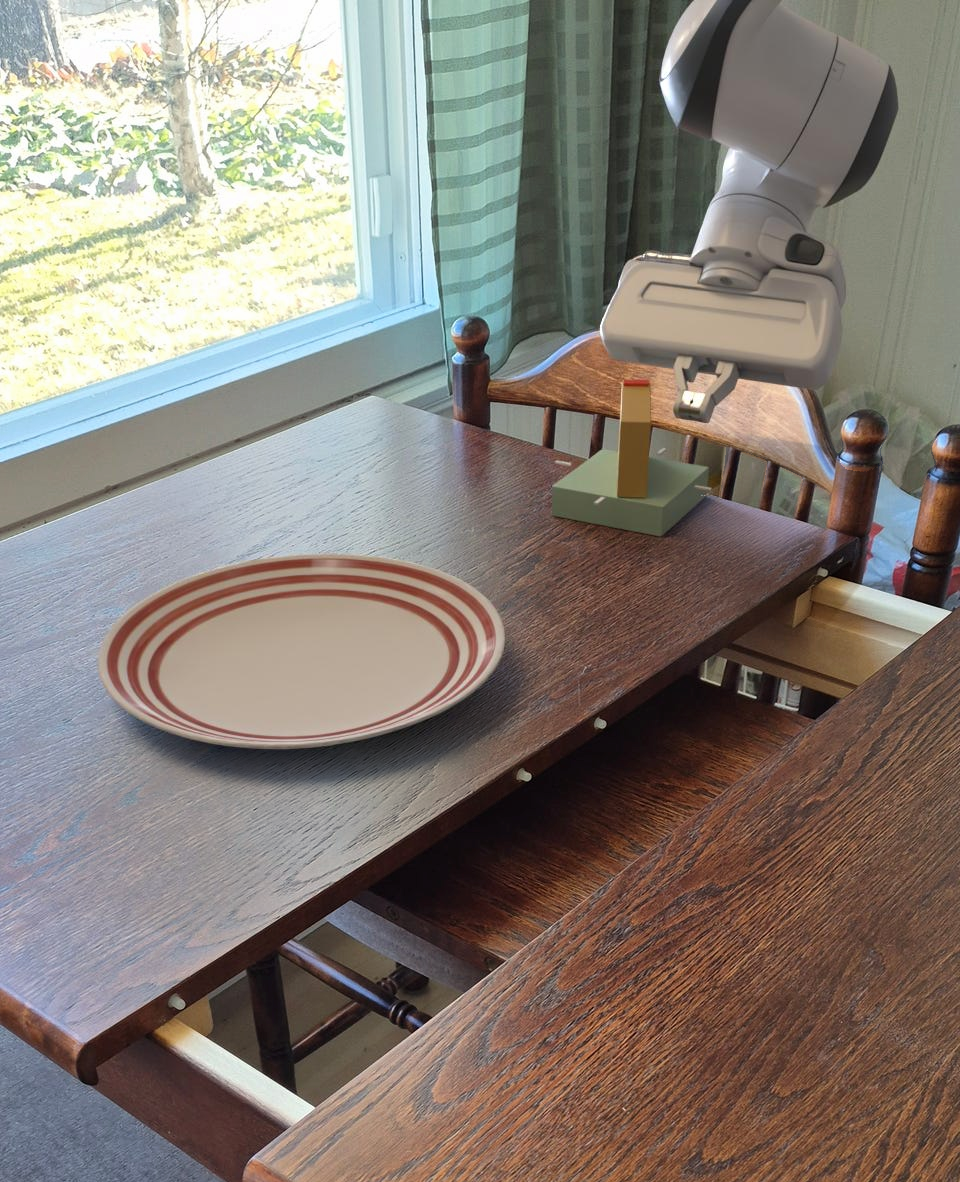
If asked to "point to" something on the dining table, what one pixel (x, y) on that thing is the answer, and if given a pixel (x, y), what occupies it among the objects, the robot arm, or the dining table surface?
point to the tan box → (634, 438)
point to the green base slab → (596, 497)
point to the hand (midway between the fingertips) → (690, 417)
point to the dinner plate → (301, 650)
